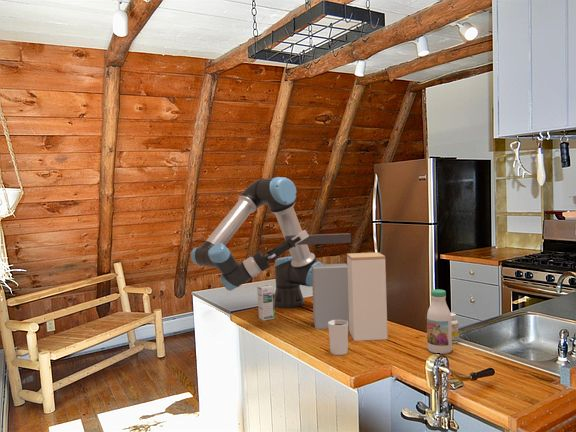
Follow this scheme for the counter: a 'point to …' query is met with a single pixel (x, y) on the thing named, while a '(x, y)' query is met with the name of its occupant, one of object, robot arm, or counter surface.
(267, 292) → the syrup box
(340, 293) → the tall grey pillar block
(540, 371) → the counter surface
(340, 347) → the white cup
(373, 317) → the cabinet block
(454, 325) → the supplement bottle
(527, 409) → the counter surface
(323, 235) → the handle rail
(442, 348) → the milk bottle
